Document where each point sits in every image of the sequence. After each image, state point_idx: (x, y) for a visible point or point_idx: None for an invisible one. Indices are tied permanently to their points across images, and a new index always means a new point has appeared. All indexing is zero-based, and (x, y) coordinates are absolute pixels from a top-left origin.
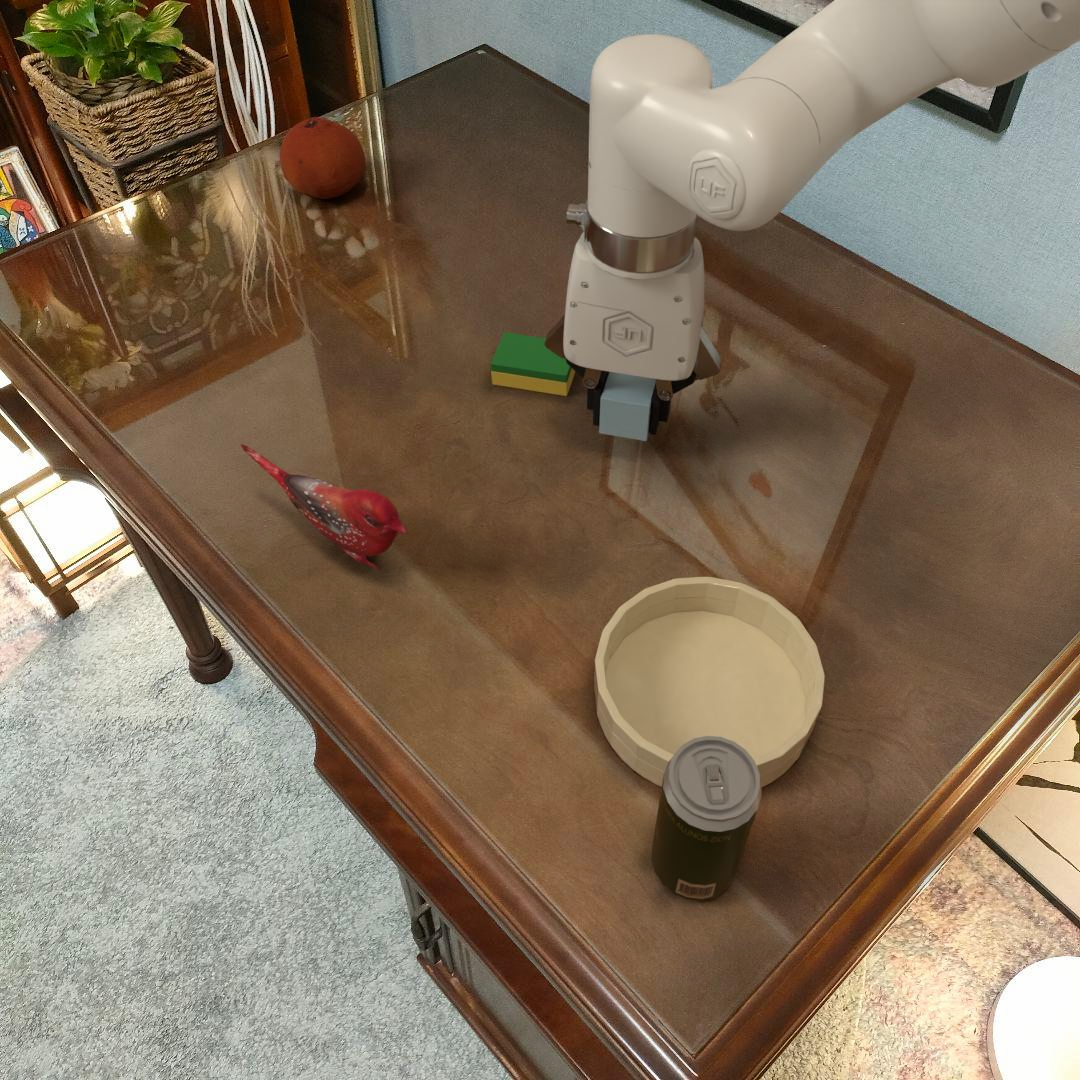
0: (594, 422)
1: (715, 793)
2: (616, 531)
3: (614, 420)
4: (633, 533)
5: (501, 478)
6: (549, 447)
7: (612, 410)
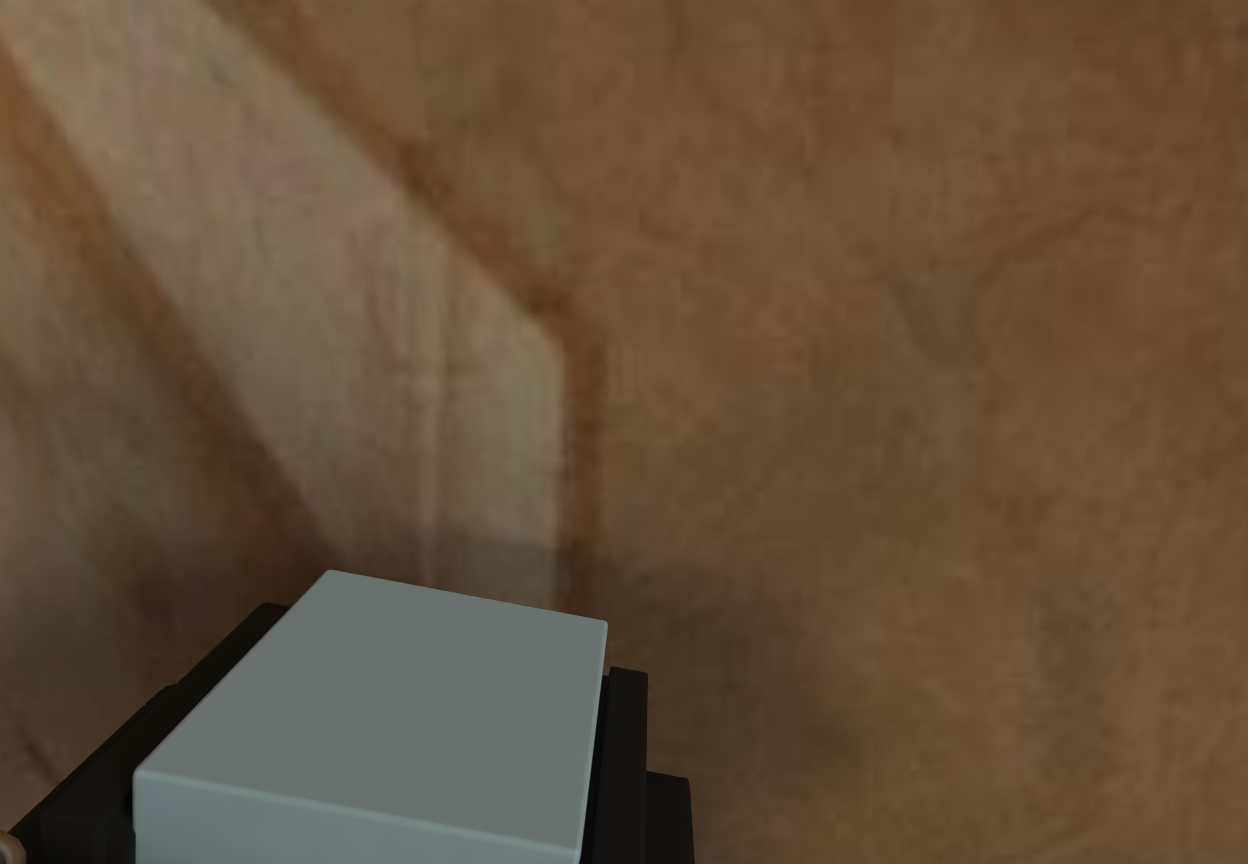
0: (637, 684)
1: None
2: (501, 37)
3: (495, 679)
4: (411, 28)
5: (1103, 387)
6: (851, 591)
7: (493, 744)
